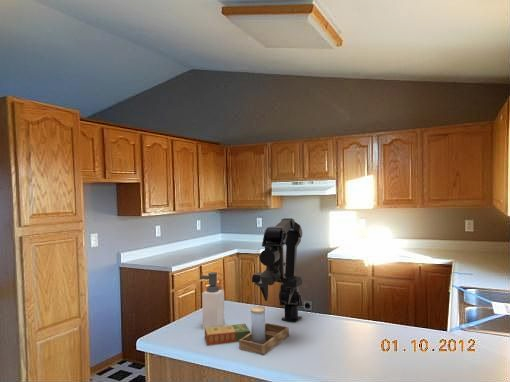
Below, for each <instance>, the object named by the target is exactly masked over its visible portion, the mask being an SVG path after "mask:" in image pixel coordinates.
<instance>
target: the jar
mask: <svg viewBox="0 0 510 382" xmlns="http://www.w3.org/2000/svg"><path fill="white" fill-rule="evenodd" d="M250 313H251V314H250V315H251V321H250V322H251V332H252V342H254V343H259V344H264V343H266V336H265V323H266V307H265V306H261V305H259V306H258V305H257V306H252V307H250Z"/></svg>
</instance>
